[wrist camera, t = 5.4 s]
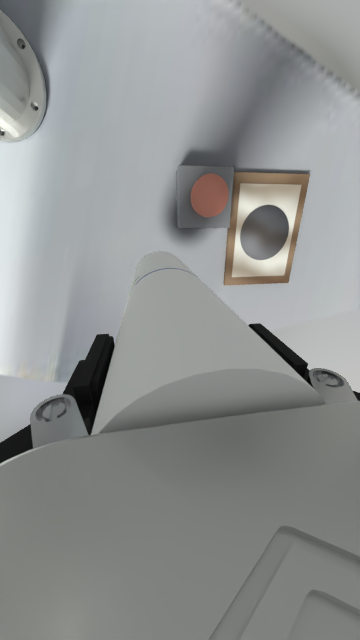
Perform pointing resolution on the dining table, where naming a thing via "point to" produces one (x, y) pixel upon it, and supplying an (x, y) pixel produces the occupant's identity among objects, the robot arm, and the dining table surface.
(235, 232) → the sketch board
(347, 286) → the dining table surface
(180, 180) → the button housing
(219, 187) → the button
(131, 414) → the cylindrical container
